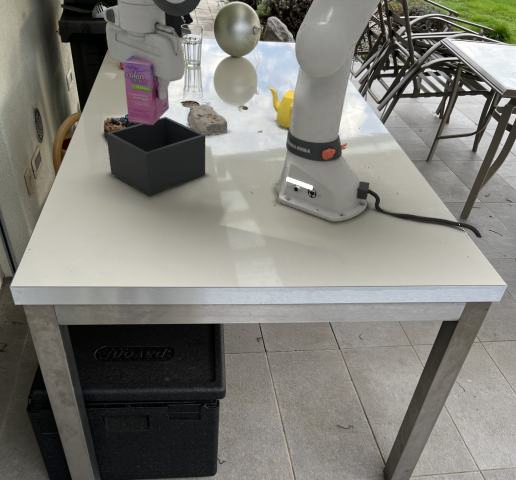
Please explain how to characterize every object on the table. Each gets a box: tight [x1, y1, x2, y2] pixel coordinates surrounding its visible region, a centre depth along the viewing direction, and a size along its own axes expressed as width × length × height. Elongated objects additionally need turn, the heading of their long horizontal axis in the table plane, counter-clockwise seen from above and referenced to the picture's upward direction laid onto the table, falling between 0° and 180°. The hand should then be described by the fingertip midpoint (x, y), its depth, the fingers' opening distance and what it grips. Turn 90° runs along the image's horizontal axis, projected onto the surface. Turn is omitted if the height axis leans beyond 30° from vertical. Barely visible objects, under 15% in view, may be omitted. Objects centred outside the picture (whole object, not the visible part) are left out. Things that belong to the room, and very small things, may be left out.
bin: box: [106, 116, 206, 197], centre depth 128 cm, size 15×18×10 cm
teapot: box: [267, 86, 295, 129], centre depth 158 cm, size 14×13×10 cm
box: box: [123, 56, 170, 125], centre depth 112 cm, size 10×6×12 cm, turn 168°
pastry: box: [103, 113, 141, 140], centre depth 144 cm, size 11×12×6 cm
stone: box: [186, 104, 229, 136], centre depth 154 cm, size 13×6×10 cm
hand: (147, 92), depth 113 cm, fingers closed on box, 7 cm apart
